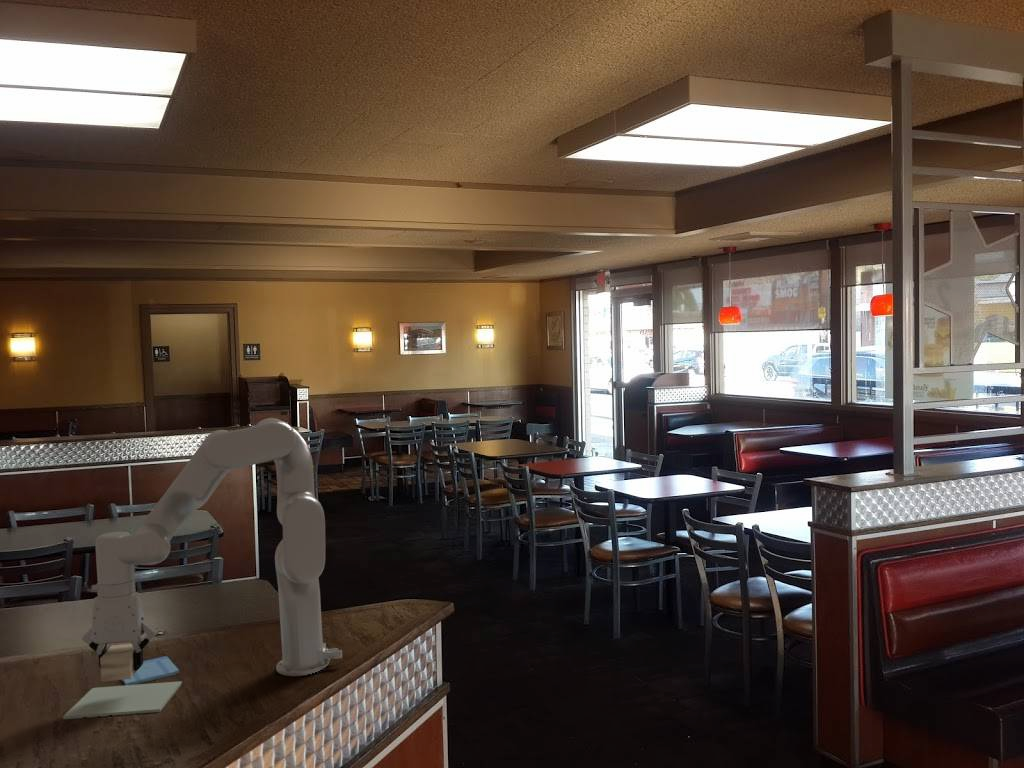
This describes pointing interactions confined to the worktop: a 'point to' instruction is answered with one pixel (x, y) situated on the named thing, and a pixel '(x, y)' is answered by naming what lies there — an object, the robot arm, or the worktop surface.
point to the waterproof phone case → (153, 671)
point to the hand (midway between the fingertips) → (121, 668)
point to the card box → (117, 663)
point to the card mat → (123, 700)
